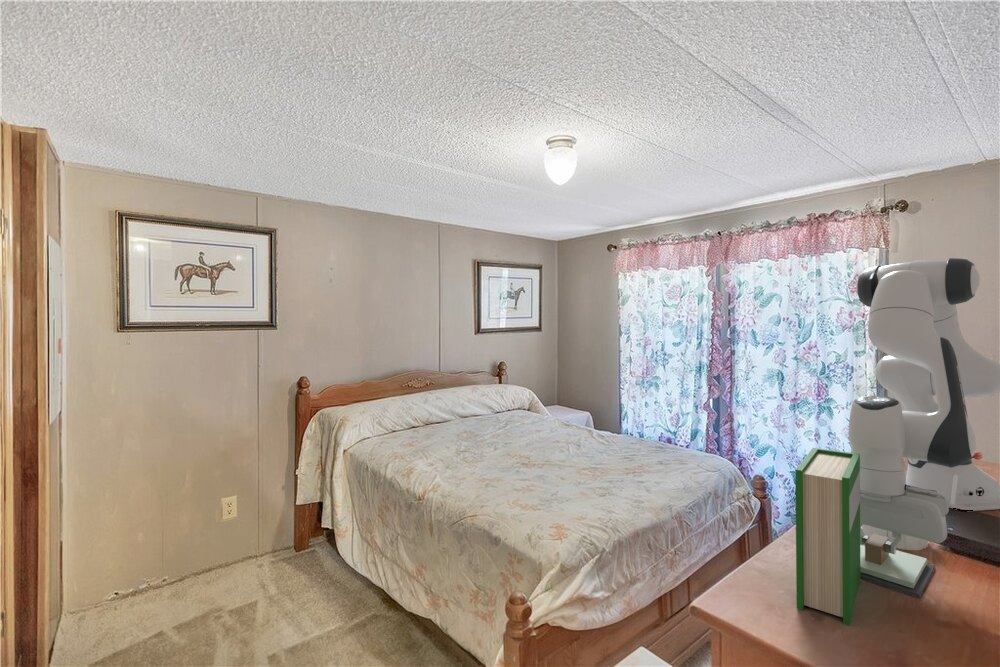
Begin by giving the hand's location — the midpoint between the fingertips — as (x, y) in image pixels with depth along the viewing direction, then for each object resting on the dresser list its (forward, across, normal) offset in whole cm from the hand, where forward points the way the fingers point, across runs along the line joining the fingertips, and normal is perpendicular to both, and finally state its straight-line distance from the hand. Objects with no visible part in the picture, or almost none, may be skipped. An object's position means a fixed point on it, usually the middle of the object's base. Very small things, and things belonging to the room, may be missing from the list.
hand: (877, 548), depth 94 cm
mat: (+4, 0, 0) cm, 4 cm away
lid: (+3, 0, 0) cm, 3 cm away
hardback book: (+4, +3, +17) cm, 18 cm away
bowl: (+4, +1, -18) cm, 18 cm away
